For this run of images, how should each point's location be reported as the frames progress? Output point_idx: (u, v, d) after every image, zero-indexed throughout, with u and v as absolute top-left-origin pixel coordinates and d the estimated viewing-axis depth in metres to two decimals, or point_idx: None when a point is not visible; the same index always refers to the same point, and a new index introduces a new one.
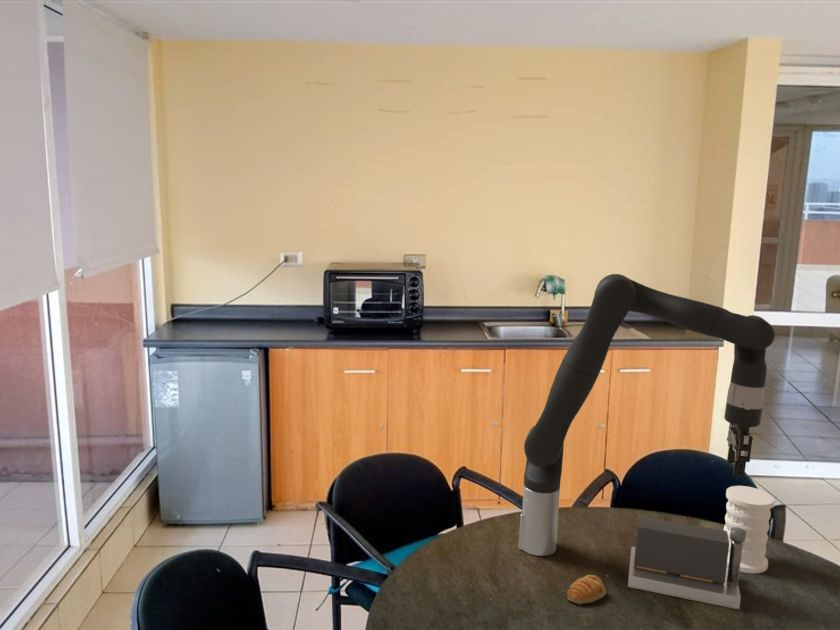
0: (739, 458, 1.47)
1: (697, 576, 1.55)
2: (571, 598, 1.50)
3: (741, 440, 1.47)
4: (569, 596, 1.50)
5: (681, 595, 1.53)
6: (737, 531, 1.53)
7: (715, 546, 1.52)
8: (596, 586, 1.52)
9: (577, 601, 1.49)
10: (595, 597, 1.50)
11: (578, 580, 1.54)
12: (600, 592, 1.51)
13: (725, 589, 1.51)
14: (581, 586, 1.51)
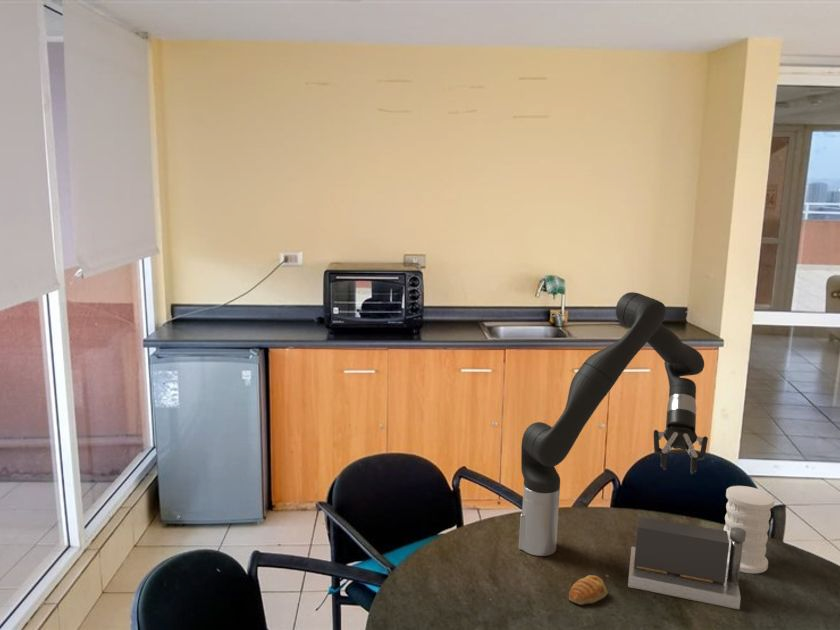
0: None
1: (697, 576, 1.55)
2: (572, 598, 1.50)
3: None
4: (571, 597, 1.50)
5: (681, 595, 1.53)
6: (737, 531, 1.53)
7: (715, 546, 1.52)
8: (598, 586, 1.51)
9: (578, 601, 1.49)
10: (597, 597, 1.50)
11: (579, 581, 1.54)
12: (602, 592, 1.51)
13: (725, 589, 1.51)
14: (583, 587, 1.51)
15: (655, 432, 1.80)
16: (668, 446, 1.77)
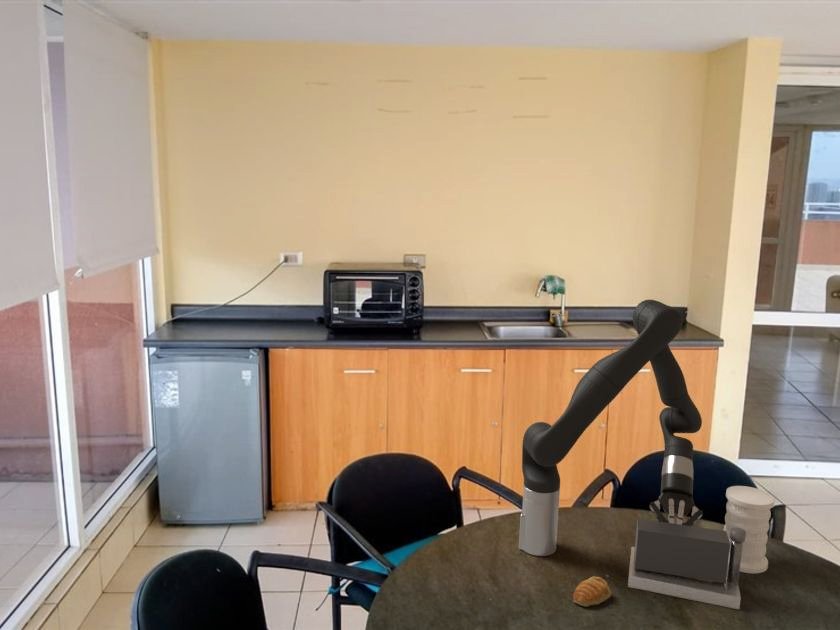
0: None
1: (698, 577, 1.54)
2: (577, 601, 1.49)
3: (700, 515, 1.63)
4: (575, 599, 1.49)
5: (681, 595, 1.53)
6: (738, 531, 1.53)
7: (716, 547, 1.52)
8: (602, 588, 1.51)
9: (583, 603, 1.48)
10: (601, 599, 1.50)
11: (583, 582, 1.53)
12: (606, 594, 1.51)
13: (725, 589, 1.51)
14: (587, 588, 1.51)
15: (652, 504, 1.66)
16: (672, 517, 1.64)
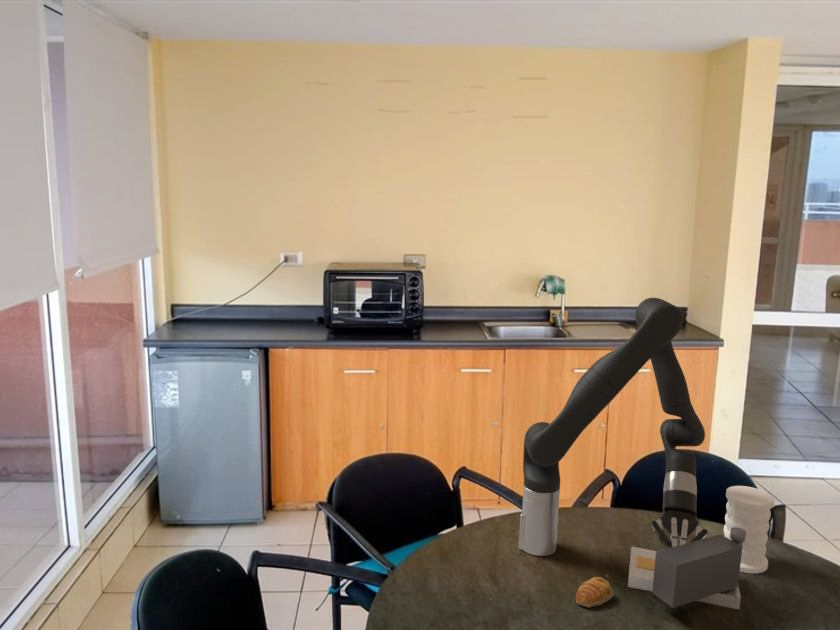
0: None
1: (719, 591, 1.49)
2: (580, 601, 1.49)
3: (705, 535, 1.54)
4: (578, 600, 1.49)
5: None
6: (739, 531, 1.52)
7: (733, 554, 1.49)
8: (604, 588, 1.51)
9: (586, 604, 1.48)
10: (604, 599, 1.49)
11: (585, 583, 1.53)
12: (608, 594, 1.51)
13: None
14: (590, 589, 1.50)
15: (654, 524, 1.57)
16: (675, 537, 1.54)
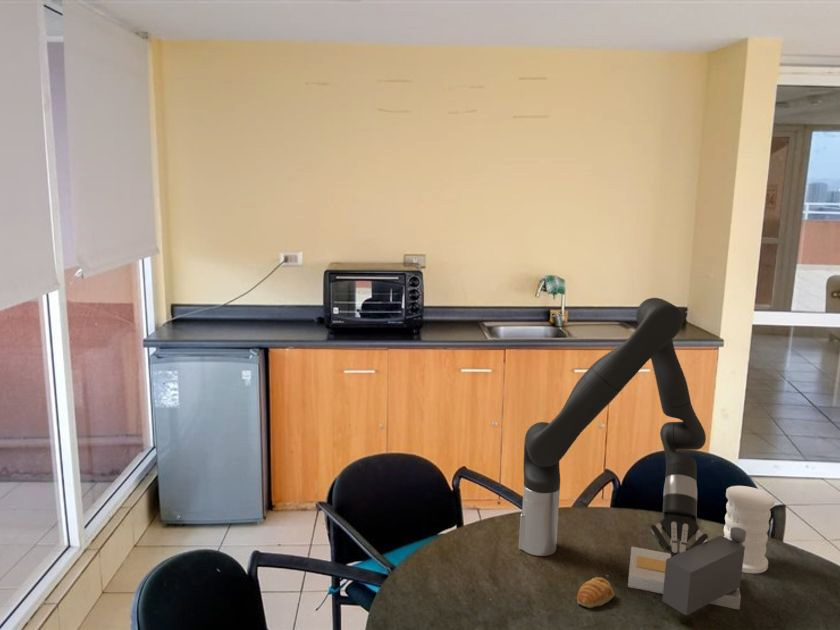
0: None
1: (725, 593, 1.48)
2: (581, 602, 1.48)
3: (705, 540, 1.51)
4: (579, 600, 1.49)
5: None
6: (739, 531, 1.52)
7: (737, 555, 1.48)
8: (605, 589, 1.51)
9: (588, 605, 1.48)
10: (605, 600, 1.49)
11: (586, 583, 1.53)
12: (609, 594, 1.50)
13: None
14: (591, 589, 1.50)
15: (653, 528, 1.55)
16: (675, 542, 1.52)
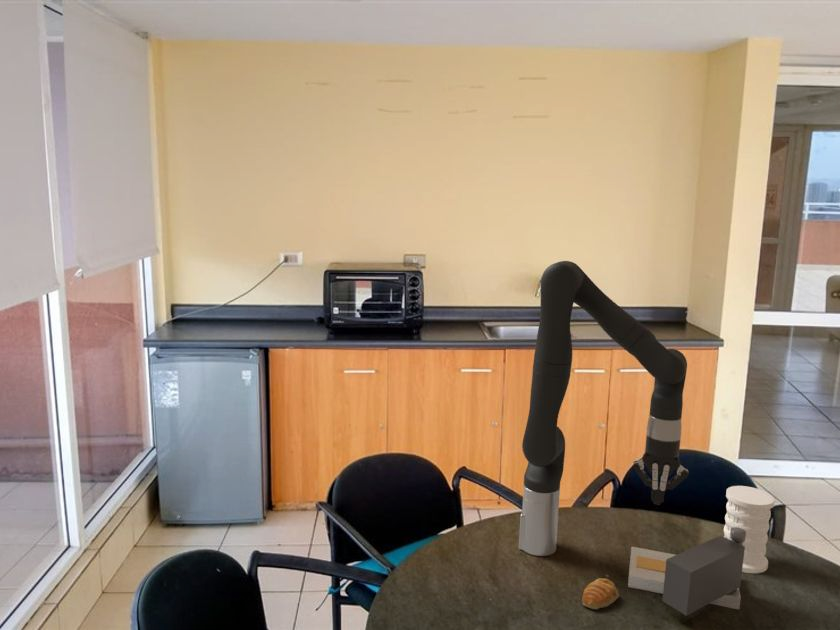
0: None
1: (725, 593, 1.48)
2: (587, 604, 1.48)
3: None
4: (585, 602, 1.48)
5: None
6: (739, 531, 1.52)
7: (737, 555, 1.48)
8: (610, 589, 1.50)
9: (593, 606, 1.47)
10: (610, 601, 1.49)
11: (591, 585, 1.52)
12: (614, 595, 1.50)
13: None
14: (596, 591, 1.50)
15: (635, 467, 1.57)
16: (656, 480, 1.56)
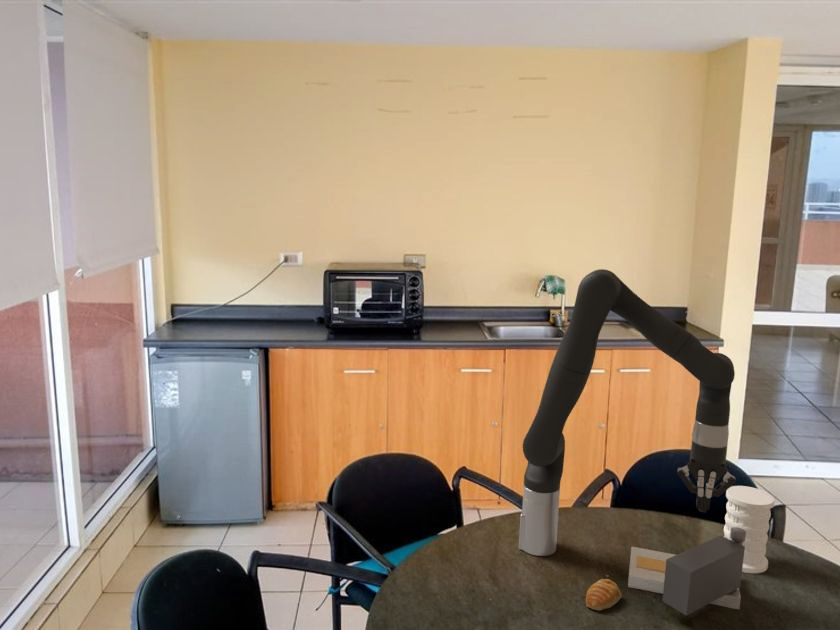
0: None
1: (725, 593, 1.48)
2: (591, 605, 1.47)
3: None
4: (589, 603, 1.48)
5: None
6: (739, 531, 1.52)
7: (737, 555, 1.48)
8: (613, 590, 1.50)
9: (597, 608, 1.47)
10: (614, 602, 1.49)
11: (594, 586, 1.52)
12: (617, 596, 1.50)
13: None
14: (599, 592, 1.49)
15: (680, 474, 1.54)
16: (701, 487, 1.53)
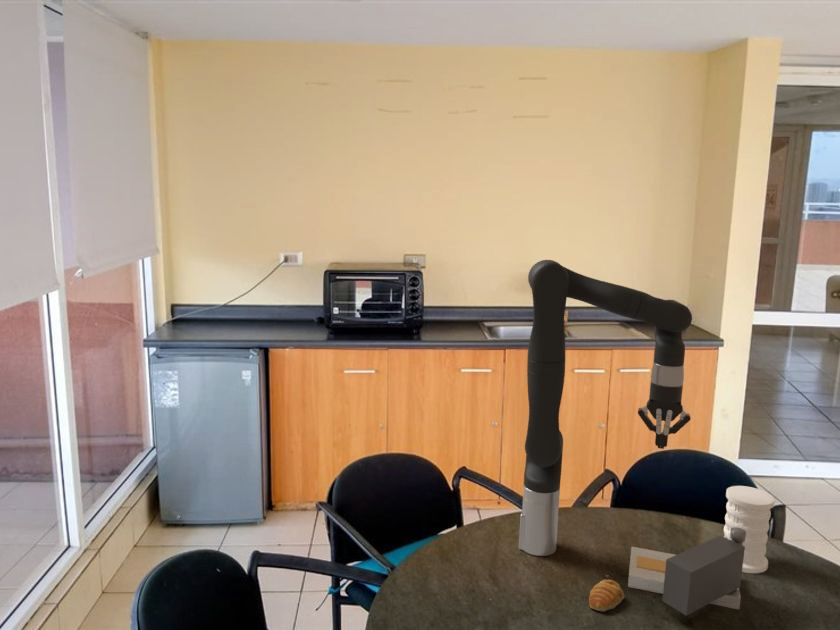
0: None
1: (725, 593, 1.48)
2: (595, 606, 1.47)
3: None
4: (593, 605, 1.47)
5: None
6: (739, 531, 1.52)
7: (737, 555, 1.48)
8: (616, 591, 1.50)
9: (601, 609, 1.46)
10: (617, 602, 1.48)
11: (597, 587, 1.51)
12: (620, 596, 1.50)
13: None
14: (603, 593, 1.49)
15: (640, 413, 1.66)
16: (659, 425, 1.64)
